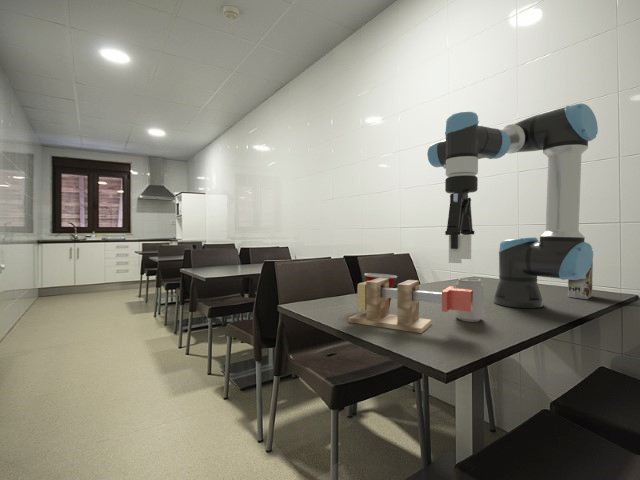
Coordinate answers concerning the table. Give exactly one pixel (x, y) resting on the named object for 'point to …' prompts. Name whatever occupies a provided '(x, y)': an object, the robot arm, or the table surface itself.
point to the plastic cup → (374, 276)
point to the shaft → (439, 297)
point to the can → (477, 299)
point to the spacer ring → (362, 296)
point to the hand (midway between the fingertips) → (460, 260)
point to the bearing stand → (380, 307)
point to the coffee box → (581, 286)
